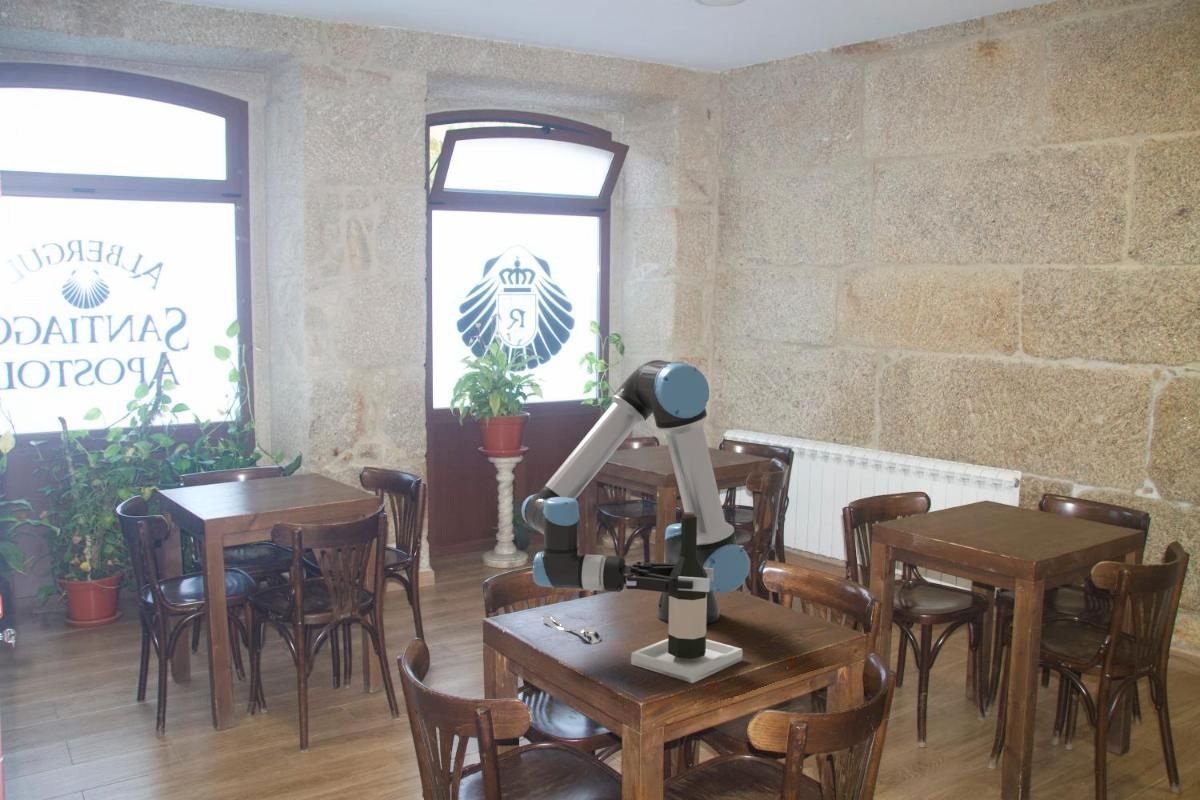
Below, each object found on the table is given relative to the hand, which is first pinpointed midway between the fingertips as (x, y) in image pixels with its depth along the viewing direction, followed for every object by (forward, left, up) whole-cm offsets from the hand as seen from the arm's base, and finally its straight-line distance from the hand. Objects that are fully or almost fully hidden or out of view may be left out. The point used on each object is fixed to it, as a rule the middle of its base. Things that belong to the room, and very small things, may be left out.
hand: (711, 579), depth 214 cm
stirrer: (+5, -37, -19) cm, 41 cm away
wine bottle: (+2, -4, -16) cm, 17 cm away
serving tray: (+2, -4, -18) cm, 19 cm away
